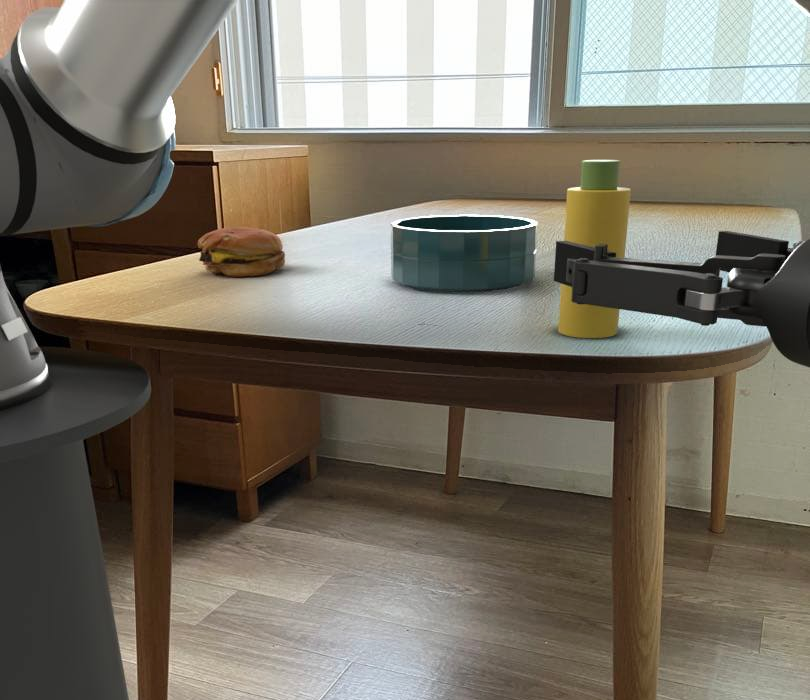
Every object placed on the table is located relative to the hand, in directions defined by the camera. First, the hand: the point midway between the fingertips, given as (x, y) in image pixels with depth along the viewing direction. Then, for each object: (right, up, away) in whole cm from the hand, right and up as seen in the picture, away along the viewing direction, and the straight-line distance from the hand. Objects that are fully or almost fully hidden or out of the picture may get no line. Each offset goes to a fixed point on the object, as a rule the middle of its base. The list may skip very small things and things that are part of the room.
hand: (642, 255), depth 64 cm
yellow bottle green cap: (-2, -4, +9) cm, 10 cm away
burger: (-36, +10, +39) cm, 54 cm away
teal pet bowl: (-11, +7, +31) cm, 34 cm away
